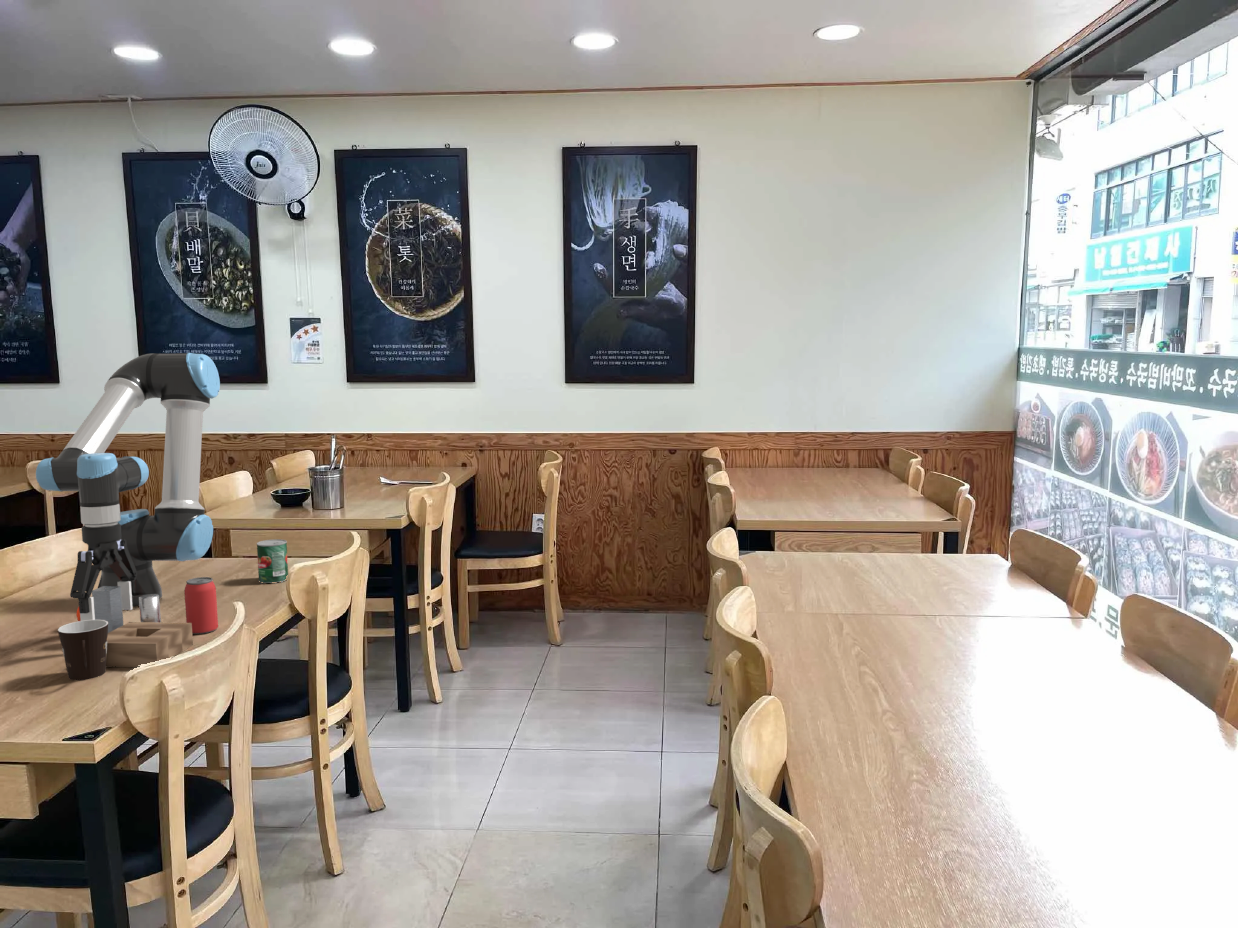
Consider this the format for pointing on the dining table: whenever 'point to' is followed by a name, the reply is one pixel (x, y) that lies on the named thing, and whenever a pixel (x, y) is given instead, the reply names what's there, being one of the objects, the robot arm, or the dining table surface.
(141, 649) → the socket block
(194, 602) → the beer can
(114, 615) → the square bit
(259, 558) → the canned tomato
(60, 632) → the coffee mug
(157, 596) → the cylinder
